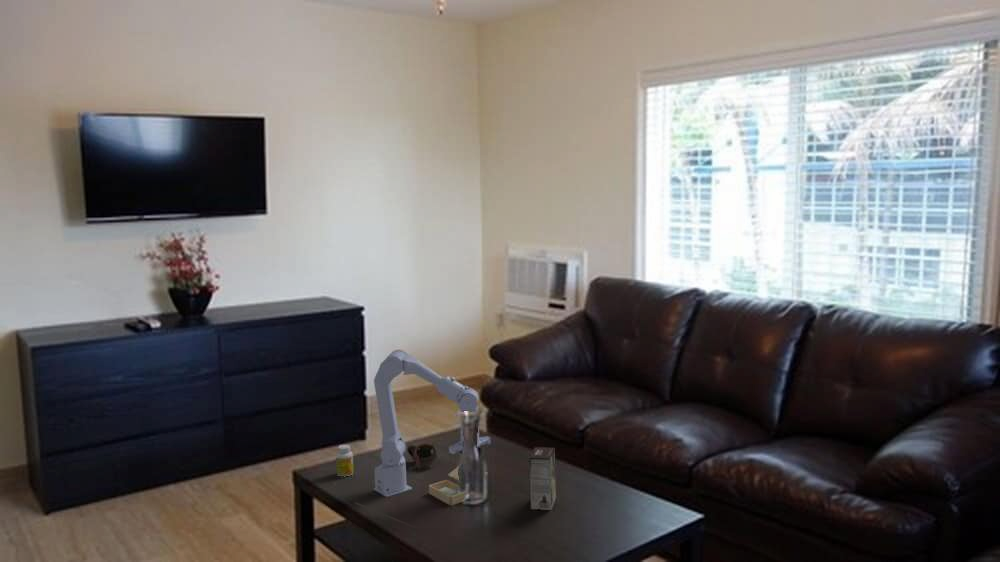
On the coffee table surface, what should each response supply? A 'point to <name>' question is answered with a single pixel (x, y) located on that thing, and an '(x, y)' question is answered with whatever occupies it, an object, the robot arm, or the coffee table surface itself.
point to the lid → (455, 473)
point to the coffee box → (542, 478)
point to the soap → (448, 491)
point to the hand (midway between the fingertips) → (470, 470)
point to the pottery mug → (423, 454)
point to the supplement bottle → (344, 461)
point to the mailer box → (443, 496)
